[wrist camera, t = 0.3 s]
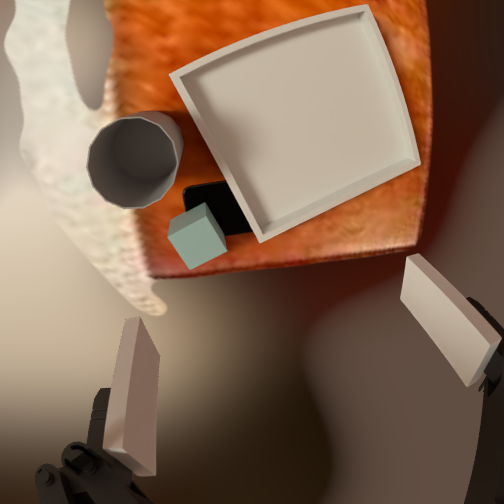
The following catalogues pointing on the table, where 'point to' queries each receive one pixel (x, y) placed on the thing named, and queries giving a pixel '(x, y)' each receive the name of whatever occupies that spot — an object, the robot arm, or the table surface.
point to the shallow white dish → (301, 116)
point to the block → (196, 236)
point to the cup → (135, 159)
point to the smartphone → (218, 206)
